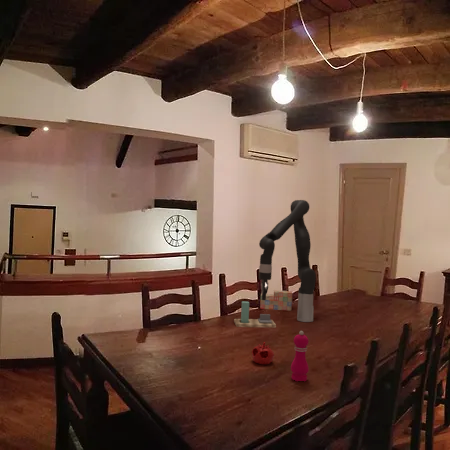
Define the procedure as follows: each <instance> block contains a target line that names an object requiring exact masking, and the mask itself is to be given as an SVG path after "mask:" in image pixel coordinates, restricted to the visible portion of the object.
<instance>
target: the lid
mask: <svg viewBox="0 0 450 450" xmlns="http://www.w3.org/2000/svg"><path fill="white" fill-rule="evenodd" d="M257 319H258V321H259V323H272V321H271V320H272V319H271V314H270V313H269V314H267V313H264V314H263V313H260V314H259V318H257Z"/></svg>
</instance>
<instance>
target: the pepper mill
mask: <svg viewBox="0 0 450 450" xmlns="http://www.w3.org/2000/svg"><path fill="white" fill-rule="evenodd" d="M293 344H294V350H295V353H294V358H293V360H292V362H291V364H290V371H291V372H292V373H291V380H292V381H294V380H295V381H294V382H298V381H304V382H306V381H308V375H307V374H308V373H309V364H308V361H307V359H306V352H307V350H308V344H309V338H308V337H307V335H305V333H304V331H303V330H300V331H299V334H296V335H295V336H294V337H293Z"/></svg>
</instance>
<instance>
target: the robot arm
mask: <svg viewBox="0 0 450 450" xmlns="http://www.w3.org/2000/svg"><path fill="white" fill-rule="evenodd" d="M309 210H310V203H309V202H308V201H307V200H306V199H295V200H293V201H292V202H291V203H290V213H289V214H288V215H287V216H285V217H284V218H283V219H282V220H281V221H279V222H278V223H277V224H276V225H275V226H274V227H273V228H272V229H271V230H270V231H269V232H268V233H267V234H265V235H264V236H262V238H261V239H260V240H259V248H260V249H262V250H263V252H262V253H261V254H260V259H259V267H258V279H259V280H260V289H261V290H260V291H261V294H262V300H266V294H268V290H269V282H268V281H271V280H272V273H273V272H272V269H273V266H272V265H273V263H272V262H273V256H274V252H275V249H276V248H275V241H278V240H280V239H281V238H282V237H283V236H284V235H285V233H287V231H289V229H290V228H291V227H292V226H293V231H294V241H295V252H296V258H297V276H298V278H299V279H300V286H299V287H298V295H297V296H298V297H297V311H296V313H297V316H296V320H297V321H298V322H304V323H310V322H314V307H315V306H314V291H315V287H316V281H317V280H316V278H317V275H316V271H315V270H314V269H313V268H311V265H310V252H311V247H312V246H311V245H312V244H311V236H310V233H309V229H308V228H307V226H306V224H305V220H304V219H305V218H304V216H305V215H306V214H308V212H309Z"/></svg>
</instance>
